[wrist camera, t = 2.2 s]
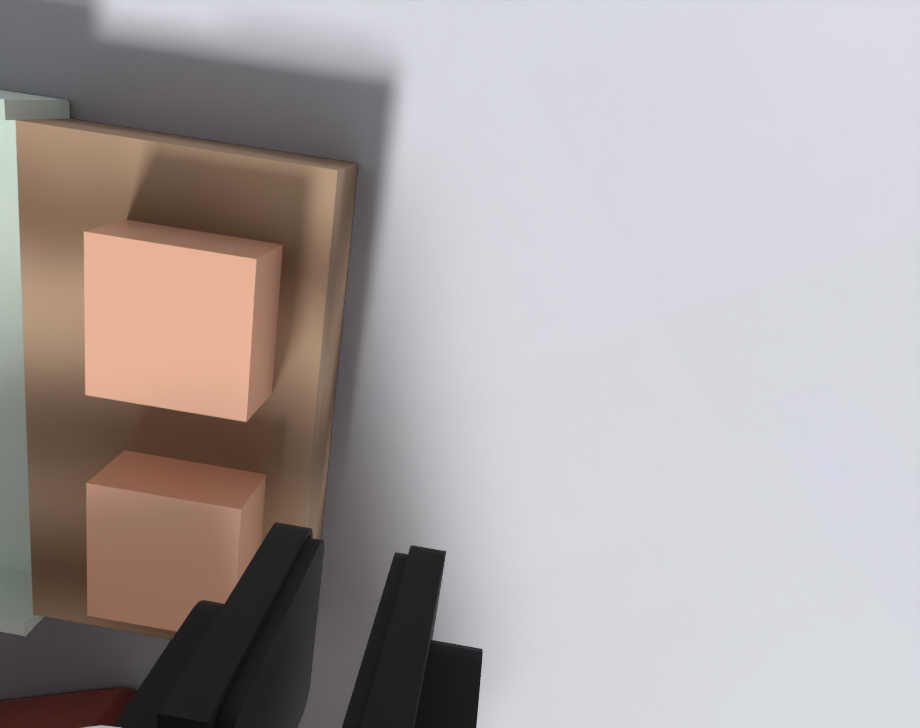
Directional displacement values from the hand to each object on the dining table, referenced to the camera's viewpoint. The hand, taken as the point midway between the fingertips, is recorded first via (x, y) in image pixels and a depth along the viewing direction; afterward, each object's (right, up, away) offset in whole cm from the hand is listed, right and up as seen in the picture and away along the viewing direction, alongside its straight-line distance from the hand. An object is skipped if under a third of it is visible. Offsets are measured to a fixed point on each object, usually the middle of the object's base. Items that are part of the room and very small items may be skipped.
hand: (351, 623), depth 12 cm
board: (-8, +3, +18) cm, 20 cm away
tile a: (-7, +6, +14) cm, 16 cm away
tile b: (-8, -2, +16) cm, 18 cm away
